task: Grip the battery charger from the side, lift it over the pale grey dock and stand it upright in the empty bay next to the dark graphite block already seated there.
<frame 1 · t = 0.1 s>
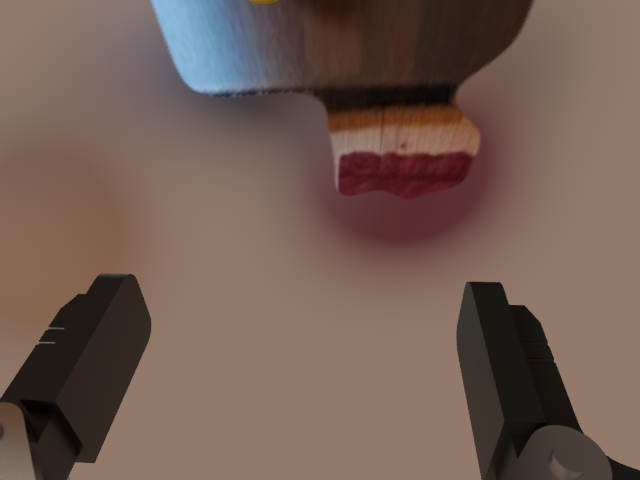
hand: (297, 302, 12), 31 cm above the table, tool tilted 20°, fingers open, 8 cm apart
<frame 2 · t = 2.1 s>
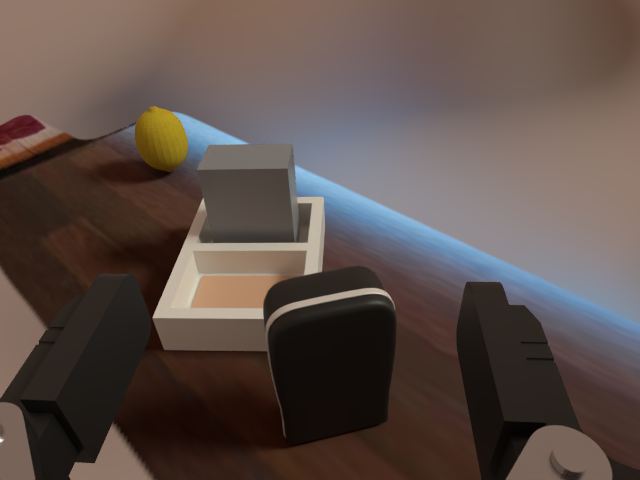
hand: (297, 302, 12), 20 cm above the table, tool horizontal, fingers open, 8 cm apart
battery charger: (332, 412, 32), on the table
dock: (248, 309, 40), on the table
lemon: (170, 173, 58), on the table
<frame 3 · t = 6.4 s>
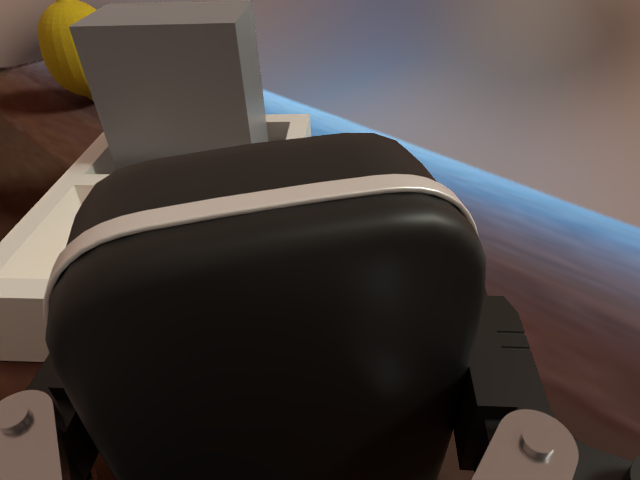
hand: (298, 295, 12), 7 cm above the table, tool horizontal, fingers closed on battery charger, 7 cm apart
dock: (167, 289, 22), on the table
lemon: (98, 103, 41), on the table
when the fingers open (9 cm above the table, at t = 11.4 s): battery charger stays where it is, resting on dock.
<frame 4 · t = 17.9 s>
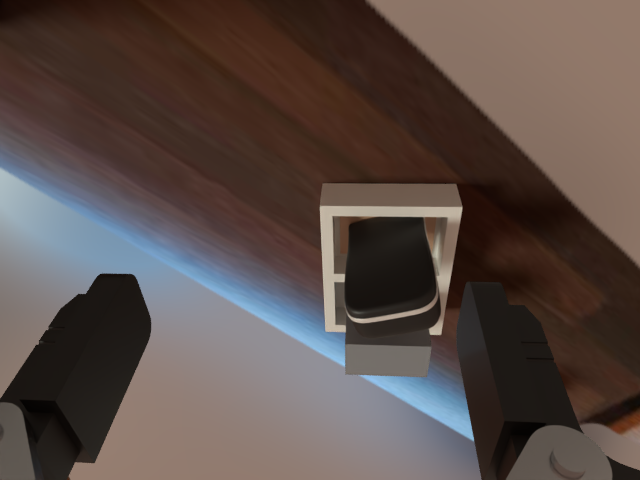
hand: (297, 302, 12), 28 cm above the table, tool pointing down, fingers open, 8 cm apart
battery charger: (388, 228, 44), point 1 cm above the table, touching dock
dock: (386, 223, 45), on the table
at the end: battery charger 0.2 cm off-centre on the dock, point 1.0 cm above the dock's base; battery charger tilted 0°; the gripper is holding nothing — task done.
